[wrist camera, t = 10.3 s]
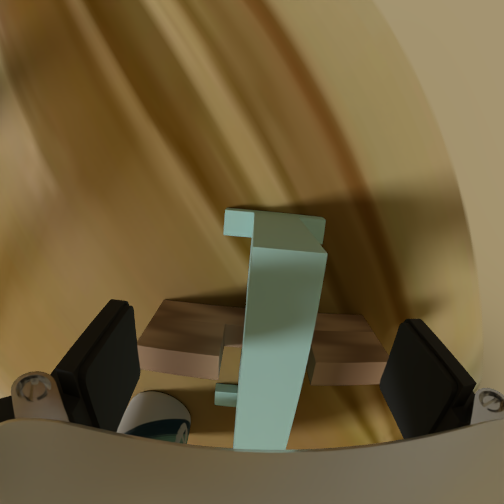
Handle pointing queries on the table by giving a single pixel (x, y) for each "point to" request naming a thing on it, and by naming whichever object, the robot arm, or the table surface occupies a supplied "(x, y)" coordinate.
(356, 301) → the table surface
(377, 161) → the table surface
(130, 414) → the lotion bottle
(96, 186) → the table surface
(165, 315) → the brown u-shaped block
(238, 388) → the teal notched bracket
